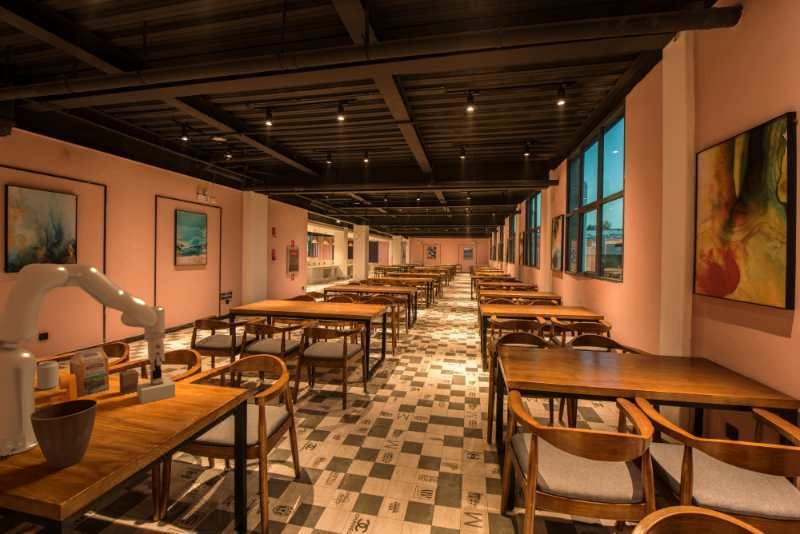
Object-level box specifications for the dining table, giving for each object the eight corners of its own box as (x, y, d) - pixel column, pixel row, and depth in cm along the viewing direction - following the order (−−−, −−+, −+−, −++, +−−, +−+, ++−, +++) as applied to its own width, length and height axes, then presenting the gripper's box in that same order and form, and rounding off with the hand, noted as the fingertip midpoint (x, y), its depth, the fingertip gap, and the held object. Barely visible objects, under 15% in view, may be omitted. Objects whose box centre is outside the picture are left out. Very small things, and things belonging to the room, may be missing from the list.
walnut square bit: (138, 391, 172) (138, 371, 172) (124, 395, 168) (123, 374, 167) (134, 389, 175) (133, 369, 175) (119, 392, 171) (119, 372, 171)
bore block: (175, 396, 166) (174, 384, 166) (141, 403, 158) (141, 390, 158) (169, 389, 175) (168, 377, 175) (137, 395, 167) (137, 383, 167)
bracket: (50, 404, 158) (49, 375, 157) (72, 399, 163) (72, 371, 163) (53, 411, 150) (53, 381, 150) (77, 405, 156) (77, 376, 155)
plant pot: (18, 480, 104) (16, 422, 104) (51, 452, 119) (49, 401, 118) (83, 471, 108) (82, 415, 108) (107, 446, 123) (106, 396, 122)
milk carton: (80, 397, 165) (79, 353, 165) (70, 392, 171) (69, 350, 170) (109, 390, 174) (108, 348, 174) (98, 385, 180) (97, 345, 179)
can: (41, 386, 179) (40, 360, 179) (61, 384, 182) (61, 359, 182) (34, 391, 172) (33, 365, 172) (55, 389, 175) (54, 363, 175)
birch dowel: (162, 384, 166) (162, 357, 166) (151, 386, 163) (150, 358, 163) (160, 382, 169) (160, 355, 169) (149, 384, 166) (149, 356, 166)
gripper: (169, 337, 162) (170, 380, 162) (161, 331, 174) (162, 371, 175) (148, 339, 157) (149, 384, 157) (141, 333, 169) (142, 374, 170)
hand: (156, 376), depth 166 cm, fingers closed on birch dowel, 4 cm apart
